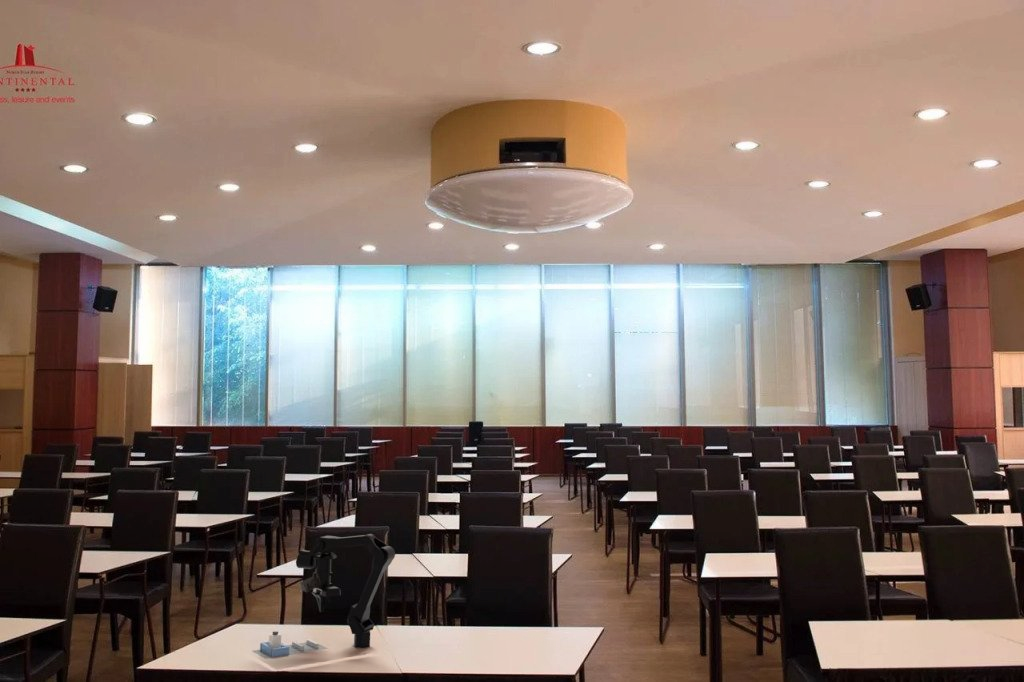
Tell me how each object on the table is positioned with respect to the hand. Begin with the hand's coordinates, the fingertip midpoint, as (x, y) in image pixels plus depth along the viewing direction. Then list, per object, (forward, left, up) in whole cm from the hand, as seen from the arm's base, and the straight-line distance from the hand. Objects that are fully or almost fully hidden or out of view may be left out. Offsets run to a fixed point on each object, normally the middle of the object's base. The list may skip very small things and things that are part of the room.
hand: (321, 611), depth 322 cm
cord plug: (-4, +20, -12) cm, 24 cm away
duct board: (-4, +14, -12) cm, 19 cm away
